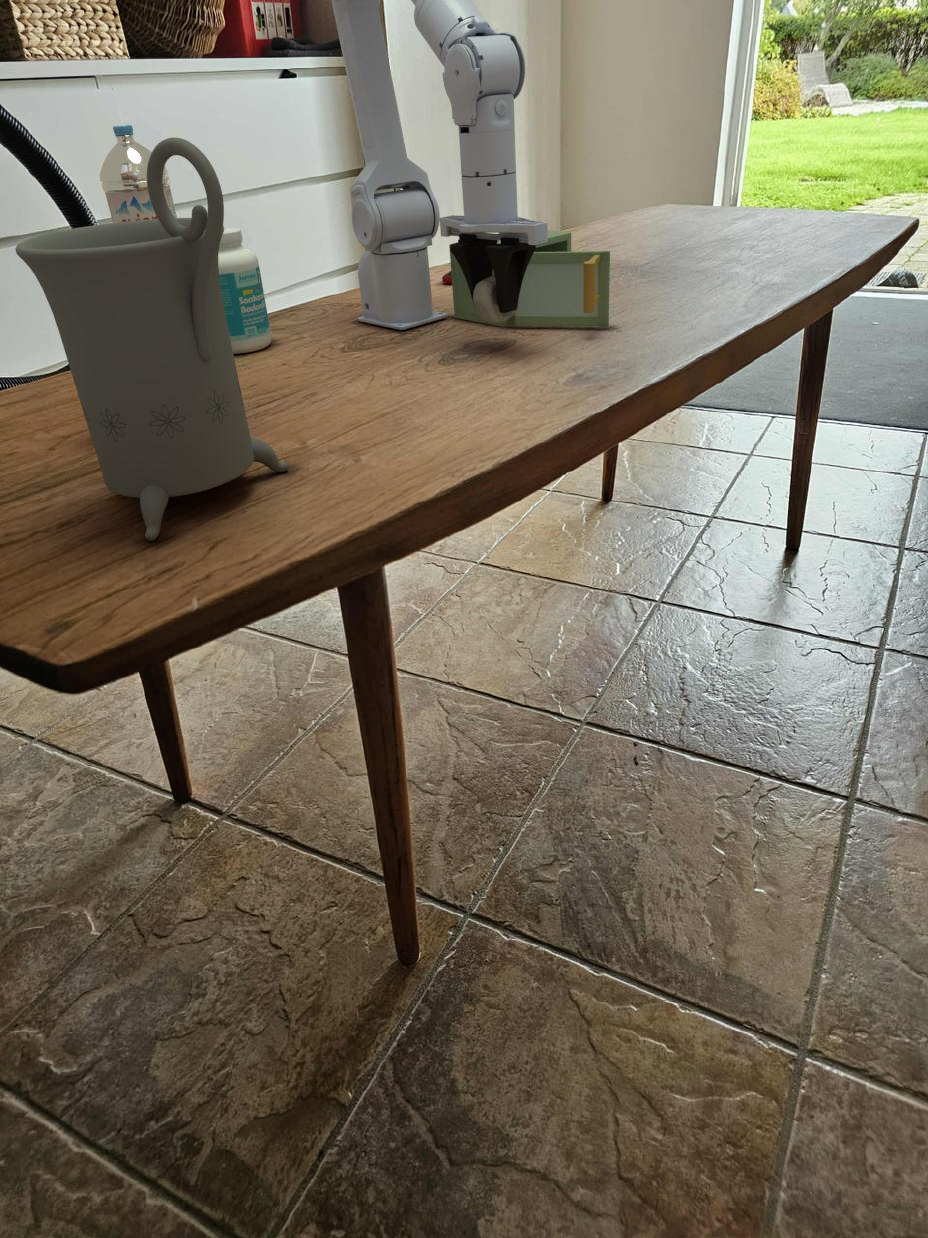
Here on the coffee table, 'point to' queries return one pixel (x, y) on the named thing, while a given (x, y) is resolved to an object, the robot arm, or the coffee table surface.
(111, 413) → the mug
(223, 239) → the pill bottle
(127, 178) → the water bottle
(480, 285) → the fossil
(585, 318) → the cabinet door
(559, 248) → the cabinet
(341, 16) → the robot arm
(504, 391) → the coffee table surface
